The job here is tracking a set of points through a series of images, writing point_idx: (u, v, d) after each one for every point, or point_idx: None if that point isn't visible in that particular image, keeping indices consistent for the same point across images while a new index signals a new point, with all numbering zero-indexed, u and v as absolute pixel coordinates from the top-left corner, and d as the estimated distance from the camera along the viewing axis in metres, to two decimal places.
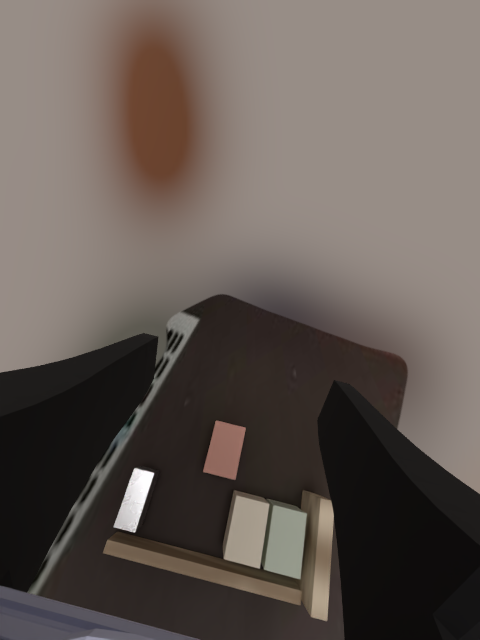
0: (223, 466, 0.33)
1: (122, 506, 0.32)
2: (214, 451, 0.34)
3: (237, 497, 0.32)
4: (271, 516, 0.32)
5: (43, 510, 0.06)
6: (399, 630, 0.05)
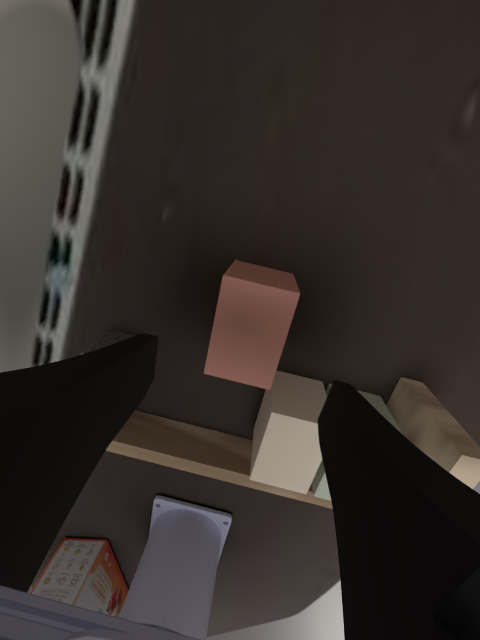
0: (244, 366, 0.16)
1: None
2: (224, 340, 0.15)
3: (273, 415, 0.17)
4: None
5: (43, 510, 0.06)
6: (399, 630, 0.05)
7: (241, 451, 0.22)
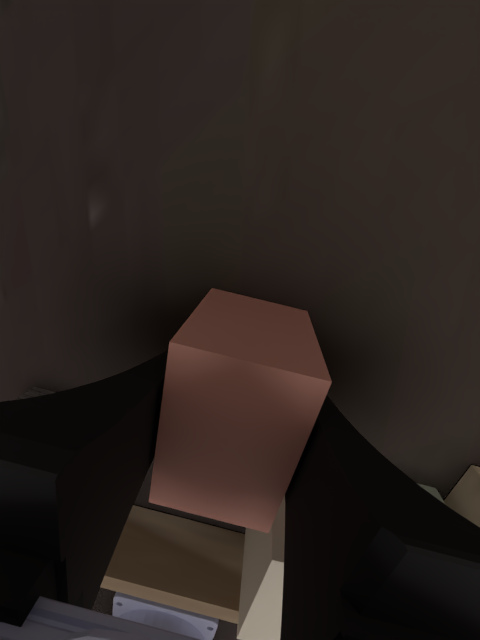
0: (221, 497, 0.08)
1: None
2: (180, 454, 0.08)
3: (275, 563, 0.10)
4: None
5: (109, 527, 0.06)
6: (316, 608, 0.05)
7: (227, 559, 0.15)
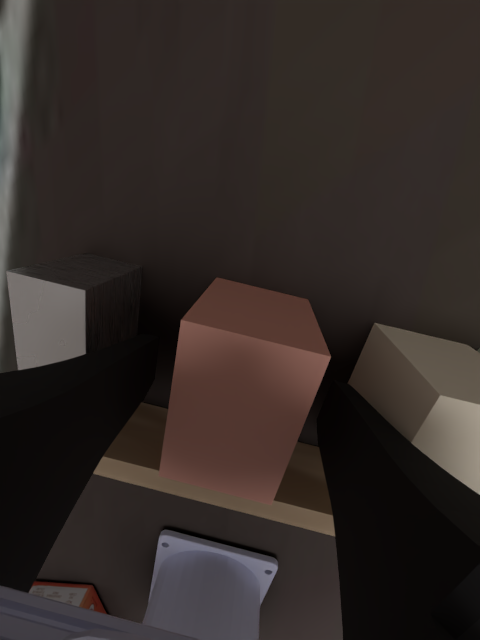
0: (227, 470, 0.09)
1: None
2: (189, 429, 0.09)
3: (443, 402, 0.07)
4: None
5: (45, 510, 0.06)
6: (397, 630, 0.05)
7: (311, 468, 0.13)
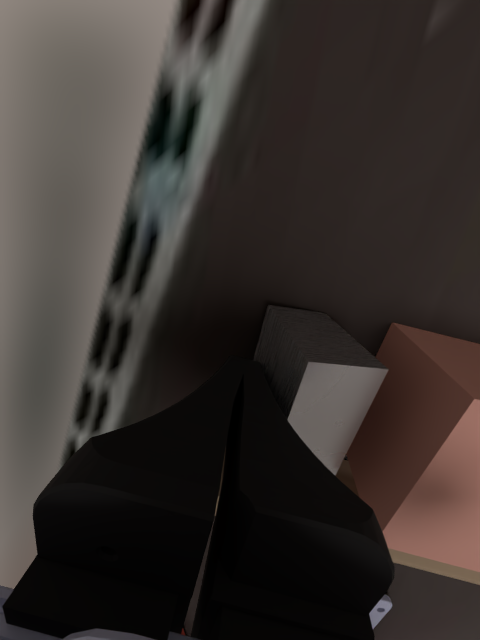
0: (459, 542, 0.08)
1: None
2: (432, 502, 0.08)
3: None
4: None
5: None
6: (209, 580, 0.05)
7: None
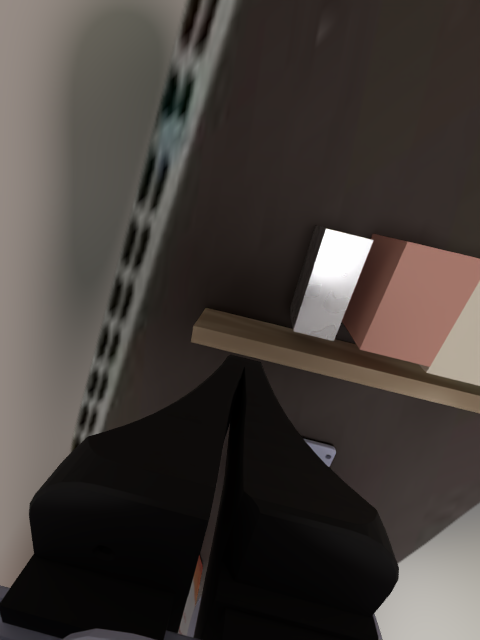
0: (407, 342, 0.15)
1: (306, 300, 0.16)
2: (391, 313, 0.14)
3: None
4: None
5: None
6: (212, 580, 0.05)
7: (372, 356, 0.19)
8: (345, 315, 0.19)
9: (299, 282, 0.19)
